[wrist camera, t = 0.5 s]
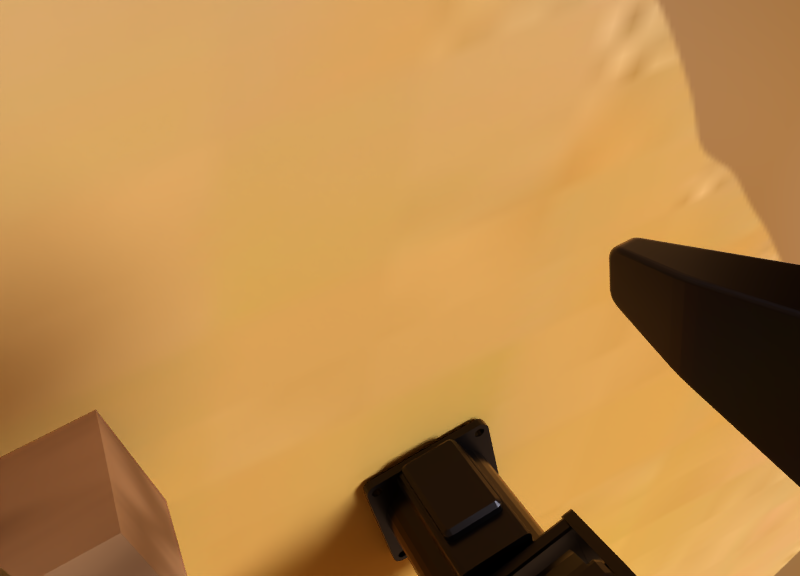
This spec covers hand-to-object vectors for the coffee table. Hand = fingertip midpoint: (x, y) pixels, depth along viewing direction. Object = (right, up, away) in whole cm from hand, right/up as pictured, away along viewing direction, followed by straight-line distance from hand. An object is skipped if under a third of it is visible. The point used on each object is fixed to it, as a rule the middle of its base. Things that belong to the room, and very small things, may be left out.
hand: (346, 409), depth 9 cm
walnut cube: (-11, -6, +15) cm, 20 cm away
